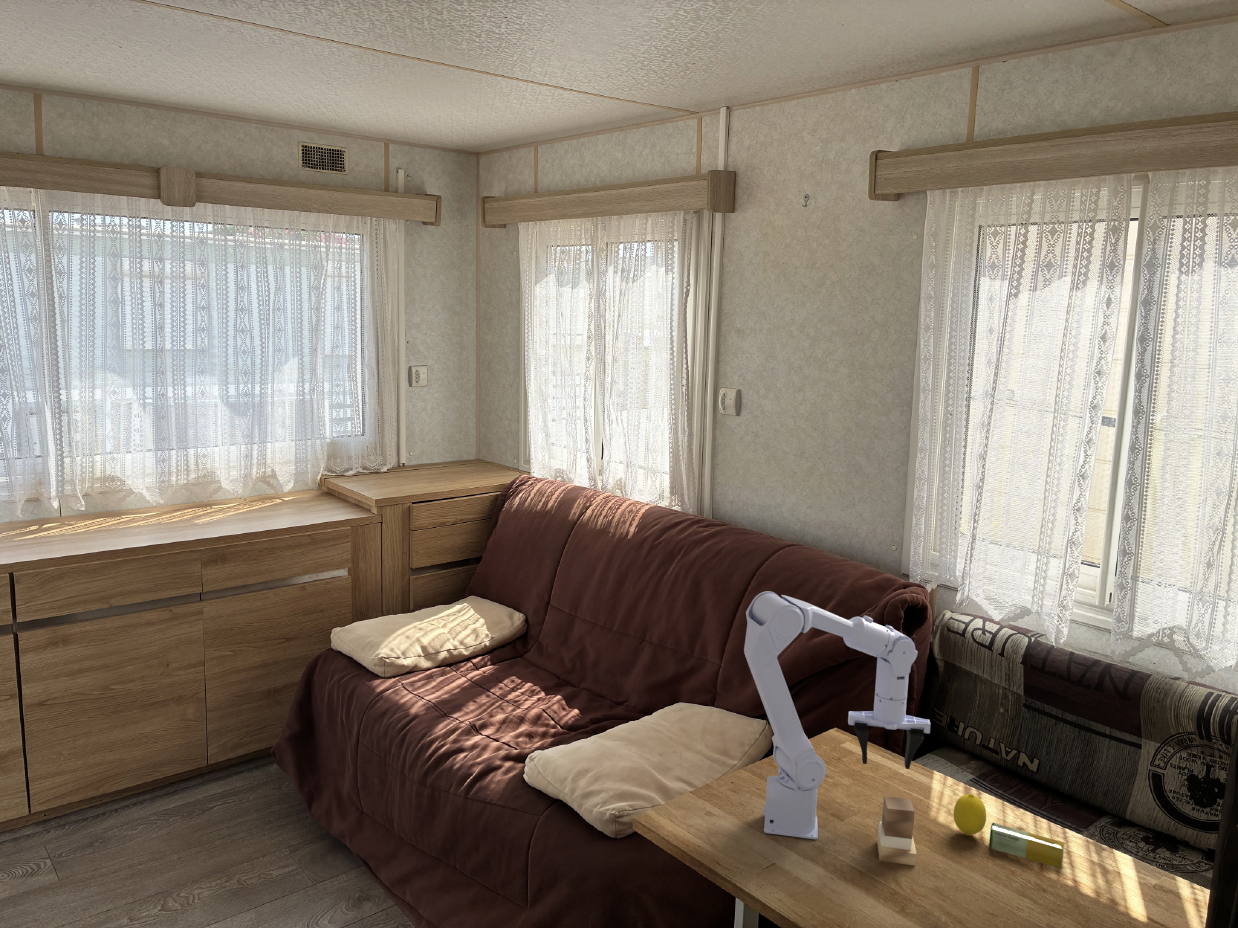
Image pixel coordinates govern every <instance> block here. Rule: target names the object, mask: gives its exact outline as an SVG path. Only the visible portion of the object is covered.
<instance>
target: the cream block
mask: <svg viewBox="0 0 1238 928" xmlns="http://www.w3.org/2000/svg"><path fill="white" fill-rule="evenodd" d="M878 823H879V824H878V832H879V837H880V843H881V846H883V847H890V848H898V849H905V850H911V845H912V839H909V838H900V837H891V836H885V833H884V829H883V826H882V820H881V821H880V820H879V821H878Z"/></svg>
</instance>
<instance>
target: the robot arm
mask: <svg viewBox="0 0 1238 928" xmlns="http://www.w3.org/2000/svg"><path fill="white" fill-rule="evenodd" d="M781 597H782V598H781ZM781 597H780V595H778V594H777V593H775V592H773V591H769V590H768V591H767V590H766V591H763V592H760V593H758V594H757V595H755V596H754V598H753V599H752V601H751V602H750V604H749V606H748V608H747V610H746V611H745V615H746V621H747V622H746V623H747V624H746V630H745V631H746V632H745V640H744V646H743V647H744V648H743V653H744V655H745V658H746V661H747V665H748V667H749V670H750V673H751V675H752V678H753V680H754V681H753V682H754V683H755V686H756V689H757V691H758V694H759V696H760V697H759V698H760V700H761V702H762V705H763V707H764V710H765V713H766V715H767V719H768V722H769V724H770V726H771V729H772V731H773V734H774V735H772V737H771V740H772V743H773V754H772V755H773V756H772V757H773V760H774V762H775V763H776V765H777V766H778V771H777V773H778V775H773V776H769V775H768V776H767V780H766V794H765V805H763V812H762V813H763V814H762V816H763V817H764V828H763V832H764V833H765V834H770V835H779V836H785V837H795V838H802V839H809V840H818V837H819V834H818V830H819V829H818V827H819V826H818V817H817V807H818V806H817V805H818V792H819V791H818V789H819V786H820V785H821V784H822V783H823V781H824V780H825V778H826V774H827V766H826V764H825V762H824V760H823V759H822V758H821V757H820V756H818V755H817V753H816V751H815V748H814V746H813V744H812V743H811V742H810V741H811V740H809V739H808V736H807V735H806V734H805V732H804V729H803V726H802V724H801V720H800V718H799V716H798V712H797V710H796V707H795V705H794V702H793V699H792V696H791V693H790V690H789V688H788V685H787V682H786V680H785V677H784V676H785V675H784V674H783V671H782V668H781V665H780V663H779V660H778V656H779V655H780V654H781V653H782V652H783V651H784V650H785V649H786V648H787V647H788V646H789V645H790V644H791V643H792V641H794V640H795V638H797V636H798V635H799V634H800V633H803V634H806V633H807V632H809V630H810V629H811V628H815V629H818V630H820V631H824V632H827V633H831V634H833V635H836V636H839V637H841V638H843V642H844V644H845V645H846V646H847V647H849V648H851V649H855V650H857V651H859V652H861V653H862V652H863V653H864V654H866V655H869V656H873V657H874V658H876V659H877V660H876V673H875V675H876V676H875V689H874V690H875V691H874V700H873V701H874V702H873V711H872V710H870V711H867V710H866V711H852V710H851V711H848V717H847V722H848V726H853V727H854V732H855V734H856V738H857V741H858V743H859V746H860V750H861V760H862V765H867V764H868V742H869V735H870V734H869V726H871V727H879V728H884V729H886V730H894V731H895V730H897V729H898V730H906V745H905V746H906V748H905V753H904V754H905V755H904V764H903V765H904V768H905V770H910V767H911V764H912V761H913V759H914V756H915V754H916V752H917V750H918V748H919V747H920V746H921V745H922V744H923V742H924V739H925V735H924V734H930V733H931V722H930V719H926V718H921V717H916V716H912V715H907V714H906V713H907V712H906V711H907V701H908V700H907V699H908V689H909V676H910V673H911V668H912V665H913V663H914V662H915V661H916V659H917V657H918V654H919V653H918V650H916V645H915V643H914V641H913V639H912V638H910V637H909V636H907V635H906V634H903V633H902V632H900V631H898V630H896V629H894V627H893V626H891V625H888V624H886V625H885V626H883V625H881V624H878V623H877V622H874V619H873V618H872V617H870V616H869V615H863V616H862V617H861V616H854V617H852V618H850V619H846V618H844V617H841V616H839V615H837V614H835V613H832V612H830V611H828V610H825V609H822V608H820V607H819V606H816V605H813V604H811V603H809V602H806V601H804V600H800V599H797V598H794V597H791V596H788V595H784V594H781Z"/></svg>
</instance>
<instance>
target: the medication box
mask: <svg viewBox="0 0 1238 928" xmlns="http://www.w3.org/2000/svg"><path fill="white" fill-rule="evenodd" d="M1065 845H1066V844H1065V842H1064V841H1062V840H1061V841H1060V840H1057V839H1053V838H1050V837H1046V836H1042V835H1039V834H1035V833H1031V832H1027V831H1026V830H1025V831H1024V830H1022V829H1018V828H1014V827H1010V826H1006V825H1002V824H998V823H995V822H992V823H991V825H990V832H989V839H988V848H989V849H992V850H996V851H999V852H1002V853H1006V854H1009V855H1014V856H1016V857H1021V858H1024V859H1027V860H1031V861H1035V862H1038V863H1042V864H1045V865H1049V866H1052V867H1054V868H1055V867H1056V868H1059V869H1063V865H1064V864H1063V863H1064V854H1065Z"/></svg>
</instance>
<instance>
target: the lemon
mask: <svg viewBox="0 0 1238 928" xmlns="http://www.w3.org/2000/svg"><path fill="white" fill-rule="evenodd" d="M985 806H986V805H985V804H984V802H983V801H982V800H981V799H980V798H979V797H978V796H976V795H975V794H974V793H968V794H967V793H966V794H964V795H961V796H960V797H959V798H958V799H957V800H956V802H955V804H954V808H953V821H954V823H955V825H956V827H957V828H958V829H959V831H961V832H963V834H965V835H966V836H968V837H969V836H972V835H976V834H978V833H980V832H981V831H982V830H983V829H984V828H985V824H986V822H987V810H986V807H985Z"/></svg>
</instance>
